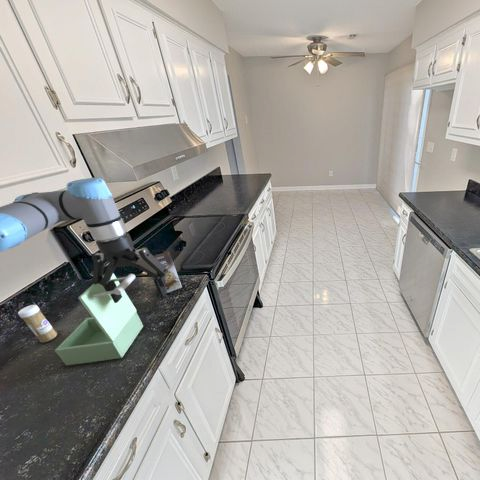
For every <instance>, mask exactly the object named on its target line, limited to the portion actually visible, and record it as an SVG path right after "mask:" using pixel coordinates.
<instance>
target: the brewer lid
mask: <svg viewBox="0 0 480 480" xmlns="http://www.w3.org/2000/svg"><path fill="white" fill-rule="evenodd" d="M103 276H104V274H103ZM135 279H136V275H135V274H134V273H129V274H128V275H127V276H123V277H117V276H116V275H115V273H114V272H113V274H112V276H111V279H110V280H109V281H111V280H114V282H115V284H116V286H117V287H116V288H115V289H114V290H113V291H108V292H106V290H105V289H104V287H103V285H101V284H93V283H92V284H91V286H89V287H88V288H87V289H86V290H84V292H83V293H81V294H80V295H79V296H78V297H77V299H78V300H79V302H80V303H81V304H82V305H83V307H84V308H85V309H86V311H87V312H88V313H89V315H90V316H91V318H92V317H93V319H94V320H95V321H96V323H97V324H98V325H99V327H100V328H101V329H102V331H103V332H104V334H105V335H106V336H107V338H108V339H109V340H110V342H113V341H114V340H115V339H116V337H117V336H118V335H119V333H120V332H121V331H122V329H123V328H124V327H125V326H126V324H127V323H128V322H129V320H130V319H131V318H132V316H133V315H134V314H135V312H136V313H137V307H135V306H134V304H133V302H132V300H131V298H130V297H129V295H128V294H127V292H126V291H125V290H126V289H127V288H128V286H130V285H131V284H132V283H133V281H135ZM120 281H121V282H120ZM110 294H116V295H120V294H121V295H122V298H121V299H120V300H119V301H118V302H117V303H114V301H113V299H112V297H111V295H110Z"/></svg>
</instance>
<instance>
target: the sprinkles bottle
mask: <svg viewBox="0 0 480 480" xmlns="http://www.w3.org/2000/svg"><path fill="white" fill-rule="evenodd" d="M17 314H18V316H19V317H20V318H21V319H23V321H24V322H25V323H26V325H27V327H28V328H29V329H30V330H31V331H32V333H33V334H34V336H36V337H37V339H38V340H39V343H47V342H50V341H51V340H53V339H54V338H56V337H57V336H58V332H57V331H56V330H55V329H54V328H53V325H52V324H51V323H50V322H49V320H48V319H47V318H46V317H45V315H44V314H43V312H42V311H41V310H40V307H39V306H38V305H37V304H30V305H28V306H25V307H23V308H21V309H20V310H19V311H18V312H17Z"/></svg>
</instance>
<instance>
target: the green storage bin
mask: <svg viewBox="0 0 480 480" xmlns="http://www.w3.org/2000/svg"><path fill="white" fill-rule="evenodd" d="M143 328H144V324H143V323H142V319H140V316H139V314H138V312H137V311H136V312H135V314H134V315H133V316H132V318H131V319H130V320H129V322H128V323H127V324H126V326H125V327H124V328H123V329H122V331H121V332H120V333H119V335H118V336H117V337H116V339H115V340H114V341H113V342H110V340H109V339H108V338H107V336H106V335H105V334H104V332H103V331H102V329H101V328H100V327H99V325H98V324H97V323H96V321H95V320H94V319H93V317H92V316H91V317H86V318H85V319H84V320H83V321H82V322H81V323H80V324H79V325H78V326H77V327H76V328H75V329H74V330H73V331H72V332H71V333H70V335H68V336H67V337H66V338H65V339H64V340H63V341H62V342H61V343H60V344H59V345H58V346H57V347H56V348H55V349H54V352H55V353H56V354H57V356H58V357H59V358H60V360H61V361H62V362H63V363H64V365H65V366H73V365H74V366H75V365H81V364H88V363H94V362H101V361H102V362H103V361H110V360H117V359H118V360H119V359H122V358H123V357H124V356H125V354H126V353H127V352H128V349H129V348H130V347H131V345H132V344H133V342H134V341H135V340H136V338H137V337H138V335H139V334H140V332H141V331H142V329H143Z"/></svg>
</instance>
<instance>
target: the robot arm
mask: <svg viewBox="0 0 480 480" xmlns="http://www.w3.org/2000/svg"><path fill="white" fill-rule="evenodd" d="M81 219H82V220H83V222H84V224H85V225H86V227H87V229H88V232H89V233H90V235H91V237H92V239H93V240H94V241H95V243H96V244H95V245H96V246H97V248H98V250H99V251H97V252H96V253H94V254H93V255H92V256H91V259H92V262H93V270H92V285H93V284H101V285H103V287H104V289H105V290H106V292H108V291H113V290H114V289H115V288H116V287H117V286H116V284H115V282H114V280H111V281H109V280H110V279H111V276H112V274H113V273H114V272H115V271H116V269H117V268H122V267H130V266H131V267H133V268H136V269H139V270H141V271H142V272H144V273H145V274H147V275H149V276H151V278H152V277H154V278H155V279H154V281H153V283H154V285H155V287H157V288H156V290H157V289H158V290H157V293H158V292H159V293H158V295H159V294H160V295H159V296H160V298H164V297H165V296H166V294H168V293H167V290H166V288H165V284H166V281H165V279H164V276H165V275H166V274H167V272H168V269H167V268H166V267H165V266H164V265H162V264H161V263H160V262H159V261H158V260H157V259H156V258H155V257H154V256H155V255H153V254H152V253H151V252H150V250H149V248H148V247H147V246H143V247H142V248H140V249H136V248H135V247H134V241H133V240H132V238H131V235H130V233H129V232H128V229H127V227H126V224H125V221H124V220H123V218H122V216H121V213H120V211H119V209H118V207H117V205H116V202H115V200H114V197H113V193H112V192H111V190H110V188H109V187H108V185H107V183H106V181H105V180H104V179H102V178H100V177H89V178H88V177H87V178H80V179H76V180H75V179H74V180H72V181H69V182H67V183H66V189H65V190H54V191H45V192H31V193H26V194H21V195H18V196H17V197H15V198H14V201H12V202H11V203H8V204H5V205H2V206H0V253H1V252H4V251H6V250H8V249H11V248H15V247H17V246H19V245H21V243H23V242H24V241H27V240H28V239H30V238H32V237H34V236H36V235H38V234H39V233H42V232H44V231H45V230H47V229H49V228H51V227H53V226H55V225H57V224H59V223H63V222H67V221H69V222H70V221H77V220H81ZM105 260H106V261H107V262H108V264H107V266H106V269H105ZM104 269H105V272H104ZM103 275H104V276H103ZM110 295H111V297H112V299H113V301H114V303H117V302H118V301H119V300H120V299H121V298H122V295H121V294H120V295H116V294H110Z"/></svg>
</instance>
